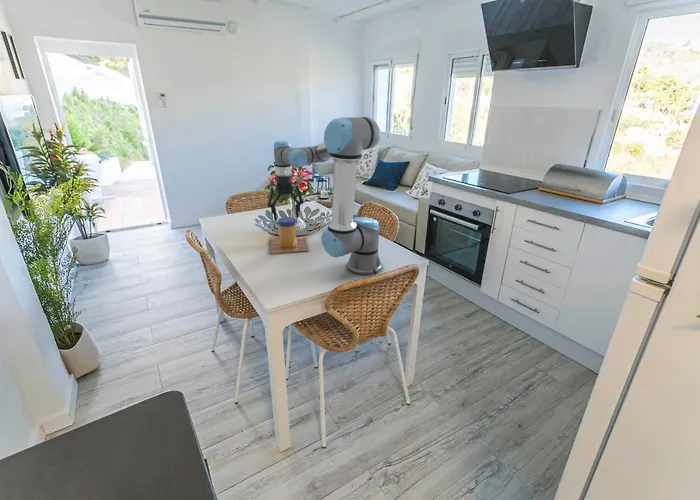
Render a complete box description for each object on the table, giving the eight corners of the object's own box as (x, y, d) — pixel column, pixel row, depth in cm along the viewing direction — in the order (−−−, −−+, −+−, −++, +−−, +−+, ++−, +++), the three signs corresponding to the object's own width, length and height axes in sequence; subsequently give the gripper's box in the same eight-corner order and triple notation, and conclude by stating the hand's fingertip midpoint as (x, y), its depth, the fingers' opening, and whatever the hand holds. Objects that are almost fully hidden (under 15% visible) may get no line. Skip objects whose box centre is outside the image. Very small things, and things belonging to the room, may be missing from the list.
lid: (296, 226, 174) (296, 221, 173) (278, 227, 172) (278, 222, 171) (295, 220, 182) (294, 216, 181) (278, 221, 180) (277, 217, 179)
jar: (297, 246, 178) (295, 222, 173) (280, 247, 177) (278, 223, 171) (295, 240, 186) (294, 217, 181) (279, 241, 184) (278, 218, 179)
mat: (307, 251, 174) (307, 250, 174) (270, 254, 171) (270, 253, 171) (304, 237, 192) (304, 236, 192) (270, 239, 189) (270, 238, 188)
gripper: (305, 171, 174) (306, 213, 183) (258, 174, 166) (262, 218, 175) (309, 174, 167) (310, 218, 176) (260, 178, 159) (264, 223, 169)
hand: (286, 218), depth 176 cm, fingers open, 10 cm apart
